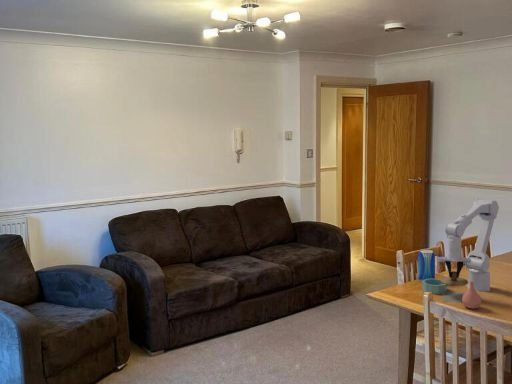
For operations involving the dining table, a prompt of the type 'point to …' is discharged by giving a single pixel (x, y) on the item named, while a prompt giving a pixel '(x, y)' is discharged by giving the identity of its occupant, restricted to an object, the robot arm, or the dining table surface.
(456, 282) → the lid
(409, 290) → the dining table surface
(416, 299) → the dining table surface
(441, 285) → the bowl
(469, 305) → the perfume bottle
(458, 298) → the mat
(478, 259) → the robot arm
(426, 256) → the beer can
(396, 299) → the dining table surface
